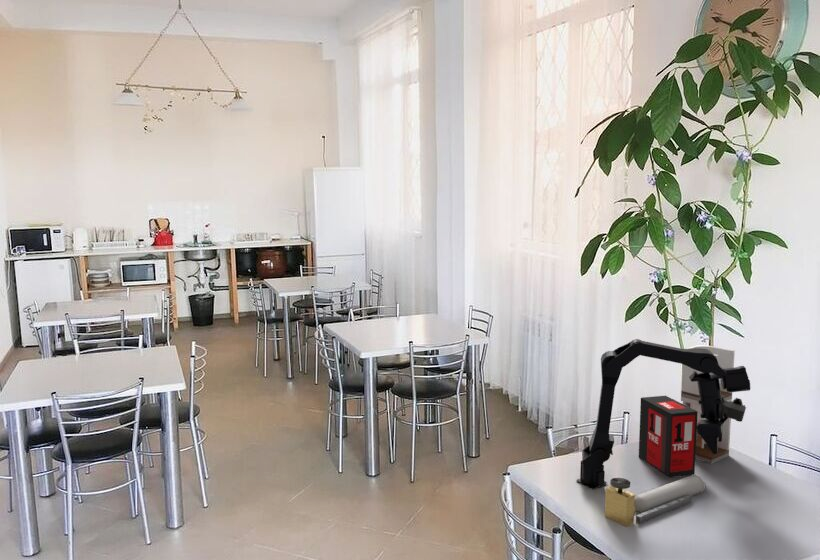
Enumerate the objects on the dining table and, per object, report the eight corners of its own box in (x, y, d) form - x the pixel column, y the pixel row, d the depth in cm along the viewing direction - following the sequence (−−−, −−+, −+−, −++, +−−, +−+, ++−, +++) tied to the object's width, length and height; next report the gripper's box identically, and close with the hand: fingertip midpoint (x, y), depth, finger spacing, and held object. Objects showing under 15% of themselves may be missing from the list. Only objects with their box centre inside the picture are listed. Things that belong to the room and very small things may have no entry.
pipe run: (599, 515, 186) (600, 477, 185) (663, 491, 201) (665, 455, 200) (626, 529, 179) (628, 490, 177) (692, 503, 193) (693, 466, 192)
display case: (678, 453, 229) (683, 349, 225) (696, 445, 236) (701, 344, 231) (711, 463, 220) (716, 355, 216) (728, 455, 227) (734, 350, 222)
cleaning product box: (638, 457, 226) (640, 397, 223) (663, 454, 228) (665, 395, 226) (668, 477, 210) (671, 413, 208) (694, 474, 212) (697, 411, 210)
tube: (647, 504, 185) (707, 482, 197) (632, 491, 189) (692, 470, 202) (641, 519, 187) (701, 497, 200) (627, 506, 191) (686, 485, 204)
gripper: (737, 404, 184) (745, 461, 185) (745, 383, 199) (752, 436, 201) (692, 405, 190) (700, 459, 191) (703, 384, 205) (710, 435, 207)
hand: (717, 447), depth 197 cm, fingers open, 9 cm apart
